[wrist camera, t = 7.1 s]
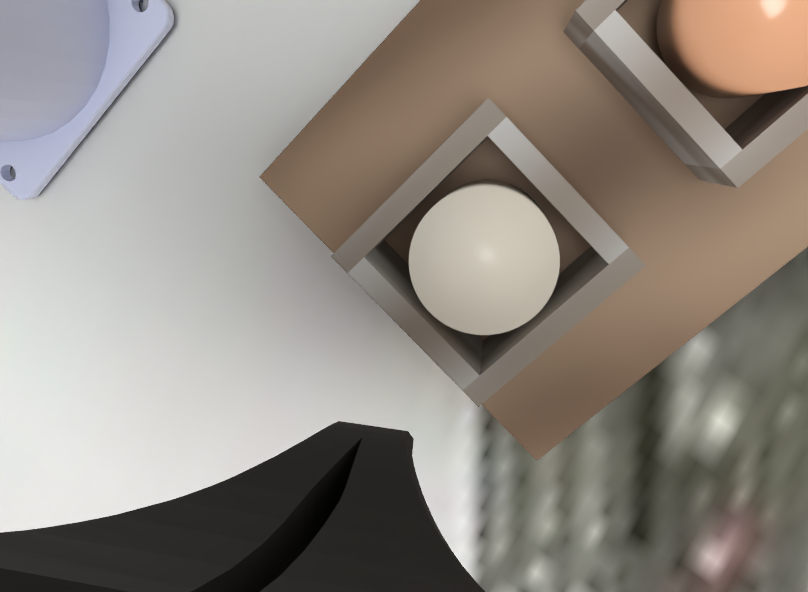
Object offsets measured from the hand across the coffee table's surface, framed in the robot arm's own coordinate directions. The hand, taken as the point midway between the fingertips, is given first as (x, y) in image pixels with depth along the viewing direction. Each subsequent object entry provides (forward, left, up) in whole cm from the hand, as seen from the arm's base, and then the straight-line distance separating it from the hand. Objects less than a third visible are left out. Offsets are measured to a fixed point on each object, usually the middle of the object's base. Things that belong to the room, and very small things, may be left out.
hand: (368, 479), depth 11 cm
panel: (-1, +7, -10) cm, 12 cm away
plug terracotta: (-1, +11, -7) cm, 13 cm away
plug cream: (-1, +3, -9) cm, 9 cm away
